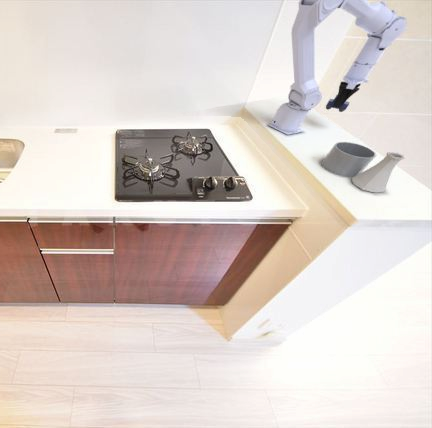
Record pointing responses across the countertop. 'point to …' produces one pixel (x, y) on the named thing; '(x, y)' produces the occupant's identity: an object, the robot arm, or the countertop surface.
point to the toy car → (341, 109)
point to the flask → (378, 174)
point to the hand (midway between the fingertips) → (336, 105)
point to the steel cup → (348, 159)
